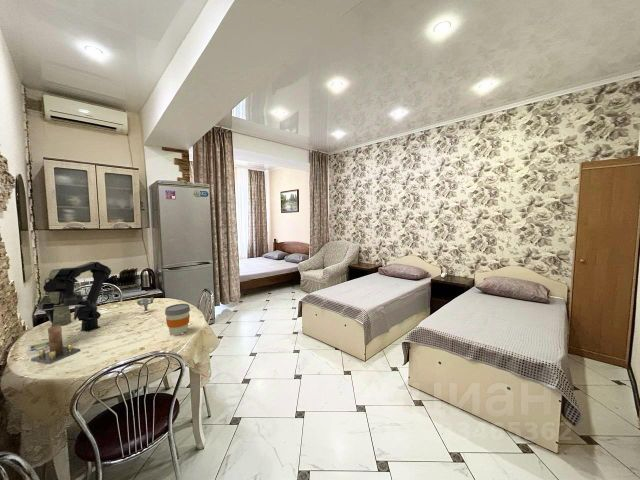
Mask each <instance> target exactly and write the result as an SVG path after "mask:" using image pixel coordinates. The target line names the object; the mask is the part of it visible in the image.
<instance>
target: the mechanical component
mask: <svg viewBox="0 0 640 480" xmlns="http://www.w3.org/2000/svg"><path fill="white" fill-rule="evenodd" d="M154 299H155V298H154V297H150V299H149V298H141V299H138V300H137V301H136V304H137V305H138V306H140V307H143V308H144V312H145V311H148V307H149V305H151V304H153V303H154Z"/></svg>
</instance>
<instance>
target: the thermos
mask: <svg viewBox="0 0 640 480" xmlns="http://www.w3.org/2000/svg"><path fill="white" fill-rule="evenodd" d="M60 269H61V268H57V269H52V270H50V272H49V274H48V277H46V278H45V279H44V280H43V281H44V284H45V283H47V281H49V279H53V278H54V277H55V276H56V274H57V273H58V272H59V270H60ZM44 293H45V295H46V296H48V297H49V299H50V300H49V301H50V303H54V304H57V301H58V298H59V295H58V293H59V292H50V293H48V292H46V291H44ZM62 304H64V303H62ZM62 304H61V305H62ZM53 309H54V312H53V323H51V327H52V326H57V325H61V327H62V326H66V325H70V324H71V323H72V313H71V311H70V306H61V307H53Z"/></svg>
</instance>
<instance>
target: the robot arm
mask: <svg viewBox="0 0 640 480" xmlns="http://www.w3.org/2000/svg"><path fill="white" fill-rule="evenodd" d="M59 269H60V270H59V272H58V273H57V274H56V276H55V277H54V278H53V279H49V280H47V281H46V283H45V282H44V285H43V286H42V287H43V290H44V292H45V291H46V292H47V293H50V292H59V293H58V295H59V298H58V301H57V304H54V303H51V302H44V303H43V302H42V303H40V304H39V305H38V307H37V308H38V310H41V311H42V312H44V313H45V314H46V316H47V317H48V320H49V322H50V323H51V324H52V323H53V312H54V309H53V307H61V306H69V307H70V306H74V313H73V320H75V321H76V320H78V321H79V322H80V321H81V324H80V326H81V329H80V332H81V331H82V332H92V331H93V330H96V329H100V328H101V326H99V325H98V322H99V321H98V320H99V319H100V318H101V315H102V314H101V313H100V312H99V311H98V306H97V301H98V299H99V295H100V292H101V290H102V288H103V286H104V282H105V281H107V279H108V278H110V275H111V273H112V270H111V268H110V267H108V266H107V265H106V264H103V263H101V262H100V261H90V262H87V263H84V264H81V265H78V266H73V267H62V268H59ZM87 272H90V273H91V274H92V278H93V281H92V283H91V287H90V289H89V292H88V294H87V296H86V298H85V299H84V296H83V295H82V294H81V295H77V296H76V292H75V285H76V284H75V283H79V280H78V279H77V278H78V277H79V276H81V274H83V273H87ZM62 303H64V304H62ZM61 304H62V305H61Z"/></svg>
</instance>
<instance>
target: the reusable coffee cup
mask: <svg viewBox="0 0 640 480" xmlns="http://www.w3.org/2000/svg"><path fill="white" fill-rule="evenodd" d="M164 310H165V311H164V313H165V321H166V325H167V328H168V332H169V335H170V336H172V335H178V336H180V335H179V334H182V333H184V332H186V331H187V332H188V329H189V328H188V327H189V323H190V315H191V314H190V311H191V309H190V304H189V303H176V304H172V305H170V306H169V305H168V306H167V307H165V309H164ZM187 332H186V333H187ZM184 334H185V333H184ZM182 335H183V334H182Z"/></svg>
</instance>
